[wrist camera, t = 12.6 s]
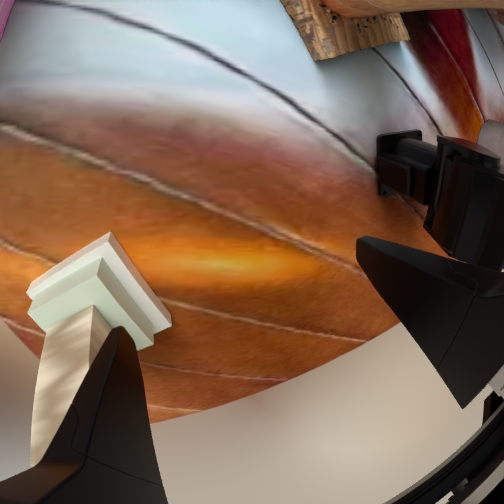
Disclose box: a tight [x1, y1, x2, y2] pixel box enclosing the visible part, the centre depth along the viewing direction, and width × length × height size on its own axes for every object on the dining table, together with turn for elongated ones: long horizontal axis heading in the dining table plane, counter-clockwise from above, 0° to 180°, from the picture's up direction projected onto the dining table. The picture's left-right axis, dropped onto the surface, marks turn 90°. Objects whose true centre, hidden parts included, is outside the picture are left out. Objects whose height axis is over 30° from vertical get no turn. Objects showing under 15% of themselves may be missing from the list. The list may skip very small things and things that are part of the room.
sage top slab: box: [28, 257, 154, 351], centre depth 20 cm, size 8×8×2 cm
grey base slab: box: [26, 231, 172, 334], centre depth 22 cm, size 10×10×2 cm
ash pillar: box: [31, 305, 112, 467], centre depth 13 cm, size 5×5×12 cm
